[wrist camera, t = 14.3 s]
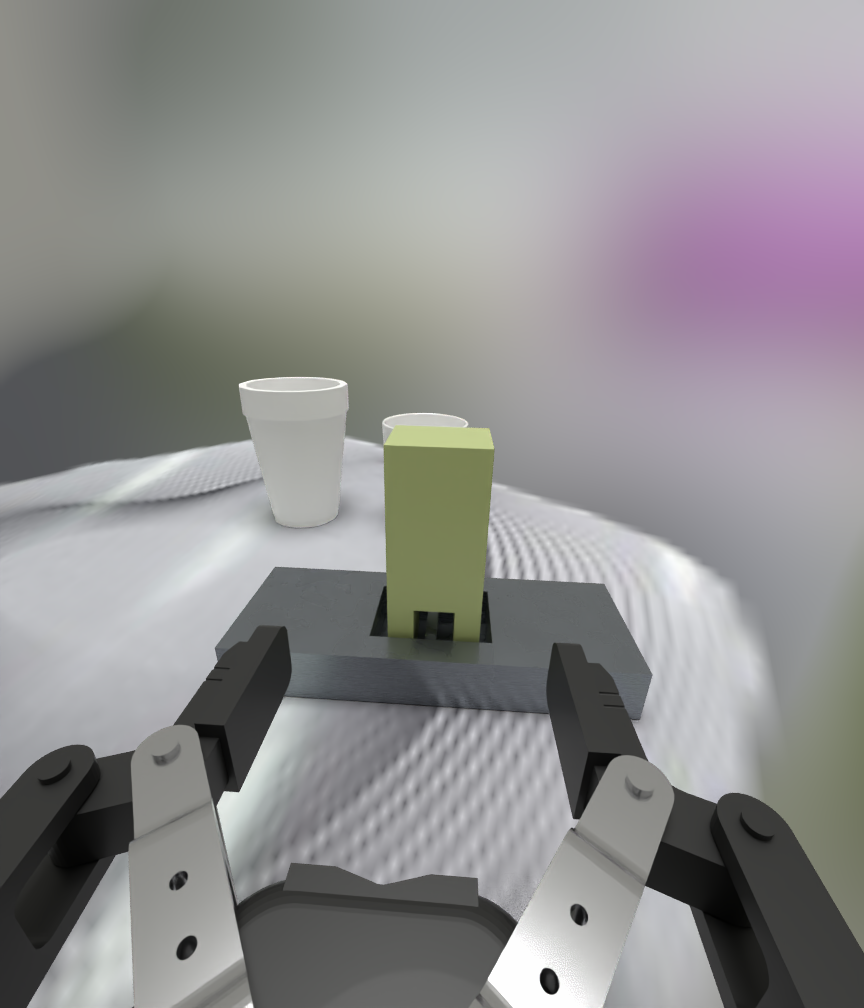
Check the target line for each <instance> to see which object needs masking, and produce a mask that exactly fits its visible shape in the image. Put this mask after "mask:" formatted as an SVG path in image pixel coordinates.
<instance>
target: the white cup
mask: <svg viewBox="0 0 864 1008" xmlns="http://www.w3.org/2000/svg"><path fill="white" fill-rule="evenodd" d="M382 425H383V439H384V444H385V442H386V440H387V439H388V437H389V435H390V434H391V432H392V430H393V429H394V427H395V425H406V426H434V427H462V428H468V422H467V421H466V420H464V419H462V418H459V417H455V416H451V415H444V414H434V413H433V414H432V413H411V414H400V415H395V416H391V417H388V418H386V419H384V420H383V422H382Z"/></svg>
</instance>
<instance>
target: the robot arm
mask: <svg viewBox="0 0 864 1008" xmlns="http://www.w3.org/2000/svg"><path fill="white" fill-rule="evenodd" d="M291 673H292V663H291V656H290V648H289V640H288V633H287V629H286V627H285V626H272V625H259V626H258V627H257V628H256V629H255V631H254V633H253V634H252V636H251V637H250V639H249V640H248V642H243V641H239V642H238V643H236V644H235V645H234V646H233V647H231V648H230V649H229V650H227V651H226V652H225V653H224V654H223V655H222V657H221V658H220V659H219V661H218V662H217V664H216V665H215V667H214V670H212V671H211V672H210V674H209V675H208V677H207V678H206V681H204V682H203V684H202V685H201V686H200V688H199V689H198V691H197V692H196V694H195V695H194V696H193V698H192V699H191V701H190V702H189V704H188V705H187V706H186V708H185V709H184V711H183V712H182V713H181V715H180V716H179V718H178V719H177V721H176V722H175V723H174V725H173V726H169V727H166V728H163V729H161V730H159V731H157V732H155V733H154V734H152V735H151V736H149V737H148V738H147V739H145V740H144V741H143V742H142V743H141V744H140V745H139V746H138V748H137V749H136V750H134V751H130V752H126V753H121V754H117V755H112V756H107V757H103V758H98V759H96V758H95V755H94V753H93V751H92V749H91V748H89V747H88V746H85V745H70V746H66V747H63V748H60V749H57V750H55V751H53V752H51V753H49V754H47V755H45V756H43V757H42V758H40V759H39V760H37V761H36V762H35V763H34V764H32V765H31V766H30V767H29V768H28V769H27V770H26V771H25V772H24V773H23V774H22V775H21V776H20V778H19V779H18V780H17V781H16V782H15V783H14V784H13V785H12V787H11V788H10V789H9V790H8V791H7V792H6V793H5V794H4V796H3V797H2V798H1V799H0V1008H27V1006H28V1004H29V1002H30V1001H31V999H32V997H33V996H34V994H35V992H36V991H37V989H38V987H39V985H40V984H41V982H42V980H43V979H44V977H45V975H46V973H47V972H48V970H49V968H50V967H51V965H52V963H53V961H54V960H55V958H56V956H57V955H58V953H59V951H60V950H61V948H62V946H63V944H64V943H65V941H66V939H67V938H68V936H69V934H70V932H71V931H72V929H73V927H74V926H75V924H76V922H77V920H78V919H79V917H80V915H81V914H82V912H83V910H84V909H85V907H86V905H87V903H88V902H89V900H90V898H91V897H92V895H93V893H94V891H95V890H96V888H97V886H98V885H99V883H100V881H101V879H102V878H103V876H104V874H105V873H106V871H107V869H108V868H109V866H110V864H111V862H112V861H113V859H114V857H115V856H116V855H117V854H121V853H125V852H128V851H129V882H130V909H131V936H132V963H133V990H134V1006H133V1007H132V1008H602V1007H603V1004H604V1002H605V999H606V996H607V993H608V990H609V987H610V984H611V982H612V979H613V976H614V973H615V970H616V967H617V964H618V962H619V959H620V956H621V953H622V950H623V947H624V944H625V942H626V939H627V936H628V933H629V930H630V927H631V924H632V922H633V919H634V916H635V913H636V910H637V907H638V904H639V902H640V899H641V896H642V893H643V890H644V887H645V886H647V887H649V888H652V889H654V890H656V891H658V892H661V893H663V894H665V895H667V896H670V897H672V898H674V899H677V900H679V901H681V902H683V903H686V904H688V905H690V908H691V911H692V914H693V917H694V920H695V923H696V926H697V929H698V931H699V934H700V937H701V940H702V943H703V946H704V949H705V952H706V955H707V958H708V961H709V964H710V967H711V970H712V973H713V976H714V979H715V982H716V985H717V987H718V990H719V993H720V996H721V999H722V1002H723V1005H724V1008H864V953H863V951H862V949H861V947H860V946H859V944H858V942H857V941H856V939H855V937H854V936H853V934H852V932H851V930H850V929H849V927H848V925H847V924H846V922H845V920H844V919H843V917H842V915H841V914H840V912H839V910H838V908H837V907H836V905H835V903H834V902H833V900H832V898H831V896H830V895H829V893H828V891H827V890H826V888H825V886H824V885H823V883H822V881H821V879H820V878H819V876H818V874H817V873H816V871H815V869H814V868H813V866H812V864H811V863H810V861H809V859H808V858H807V856H806V854H805V852H804V850H803V849H802V847H801V846H800V844H799V842H798V840H797V839H796V837H795V835H794V833H793V832H792V830H791V829H790V827H789V826H788V824H787V823H786V822H785V821H784V820H783V819H782V818H781V817H780V815H779V814H777V813H776V812H775V811H774V810H773V809H772V808H770V807H769V806H767V805H766V804H765V803H763V802H761V801H759V800H758V799H756V798H753V797H751V796H748V795H745V794H740V793H729V794H726V795H724V796H722V797H721V798H720V799H719V801H718V803H717V804H716V803H713V802H710V801H707V800H705V799H702V798H699V797H696V796H694V795H691V794H688V793H686V792H683V791H681V790H679V789H677V788H675V787H674V786H672V785H671V784H670V782H669V780H668V779H667V778H666V776H665V775H664V774H663V773H662V772H661V771H660V770H659V769H658V768H657V767H656V766H655V765H653V764H651V763H650V762H649V761H648V759H647V758H646V755H645V753H644V750H643V748H642V746H641V743H640V741H639V739H638V736H637V734H636V731H635V729H634V727H633V724H632V722H631V720H630V717H629V715H628V712H627V710H626V709H625V705H624V703H623V701H622V698H621V696H619V691H618V689H617V686H616V684H615V682H614V679H613V677H612V676H611V675H610V674H609V673H608V672H607V671H606V670H605V669H604V668H603V666H602V665H601V664H600V663H588V662H587V659H586V656H585V654H584V651H583V648H582V646H581V645H580V644H574V643H557V642H555V643H553V646H552V651H551V657H550V664H549V670H548V676H547V683H546V697H547V704H548V709H549V714H550V718H551V722H552V727H553V731H554V736H555V740H556V745H557V749H558V754H559V758H560V763H561V767H562V772H563V776H564V781H565V785H566V789H567V794H568V798H569V803H570V807H571V812H572V816H573V819H580V820H579V822H578V824H577V825H576V827H575V828H574V829H573V828H571V829H570V830H569V831H568V832H567V834H566V836H565V837H564V839H563V841H562V843H561V845H560V847H559V848H558V850H557V852H556V854H555V856H554V858H553V860H552V861H551V863H550V865H549V867H548V869H547V871H546V873H545V874H544V876H543V878H542V880H541V882H540V884H539V885H538V887H537V889H536V891H535V893H534V895H533V897H532V898H531V900H530V902H529V904H528V906H527V908H526V910H525V911H524V913H523V915H522V917H521V919H520V921H519V923H518V922H517V921H516V920H515V919H514V918H513V917H512V916H511V915H510V914H509V913H507V912H506V911H505V910H503V909H502V908H501V907H500V906H498V905H497V904H495V903H493V902H491V901H490V900H488V899H486V898H484V897H481V896H479V895H478V878H469V877H457V876H445V875H433V874H431V875H426V876H422V877H417V878H413V879H408V880H404V881H400V882H395V883H391V884H386V885H380V884H376V883H374V882H372V881H369V880H367V879H364V878H362V877H360V876H357V875H355V874H353V873H350V872H348V871H345V870H343V869H341V868H338V867H335V866H323V865H311V864H298V863H291V865H290V868H289V871H288V875H287V878H286V880H284V881H280V882H277V883H274V884H272V885H269V886H267V887H265V888H263V889H261V890H259V891H257V892H255V893H254V894H252V895H251V896H249V897H248V898H246V899H244V900H243V901H242V902H241V903H238V899H237V895H236V891H235V887H234V882H233V878H232V874H231V869H230V864H229V860H228V855H227V851H226V846H225V841H224V837H223V832H222V828H221V823H220V818H219V814H218V809H217V804H218V802H219V800H220V798H221V796H222V794H223V792H224V791H229V792H240V789H241V787H242V785H243V783H244V781H245V779H246V776H247V774H248V772H249V770H250V768H251V766H252V764H253V761H254V759H255V757H256V755H257V753H258V751H259V749H260V746H261V744H262V742H263V740H264V738H265V736H266V734H267V731H268V729H269V727H270V725H271V723H272V721H273V719H274V716H275V714H276V712H277V710H278V708H279V706H280V703H281V701H282V699H283V697H284V695H285V693H286V691H287V688H288V686H289V683H290V679H291Z"/></svg>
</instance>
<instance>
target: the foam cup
mask: <svg viewBox="0 0 864 1008" xmlns="http://www.w3.org/2000/svg"><path fill="white" fill-rule="evenodd" d="M239 390H240V398H241V404H242V411H243V415H245V416H246V419H247V422H248V426H249V429H250V433H251V436H252V440H253V444H254V447H255V451H256V454H257V458H258V462H259V465H260V469H261V472H262V476H263V479H264V483H265V487H266V490H267V494H268V497H269V501H270V504H271V508H272V512H273V515H274V516H275V521H276V522H277V523H279V524H281V525H282V526H287V527H293V528H307V527H314V526H319V525H323V524H326V523H328V522H330V521H332V520H333V519H335V518H336V516H337V515H338V508H339V502H340V489H341V476H342V463H343V450H344V437H345V424H346V411H347V410H348V409H349V406H348V387H347V383H345V382H344V381H341V380H335V379H328V378H314V377H313V378H312V377H285V378H267V379H259V380H251V381H247V382H244V383H240V384H239Z"/></svg>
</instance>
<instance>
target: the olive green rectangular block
mask: <svg viewBox="0 0 864 1008" xmlns="http://www.w3.org/2000/svg"><path fill="white" fill-rule="evenodd" d="M493 462H494V445H493V442H492V438H491V434H490V429H489V428H462V427H434V426H406V425H395V427H394V429H393V430H392V432H391V434H390V435H389V437H388V439H387V440H386V442H385V444H384V484H385V530H386V575H387V621H388V637H395V638H412V639H417V636H418V629H419V611H429V612H447V613H454V616H453V641H462V642H479V637H480V625H481V612H482V600H483V587H484V575H485V562H486V550H487V537H488V524H489V512H490V499H491V487H492V474H493Z"/></svg>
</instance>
